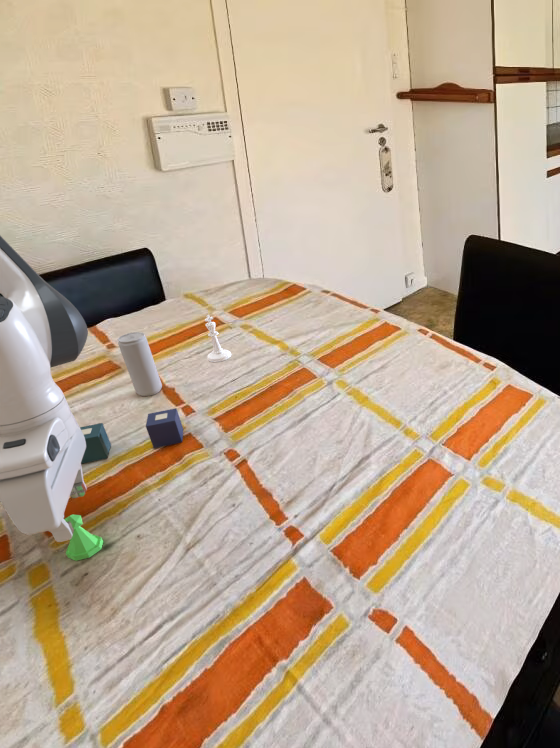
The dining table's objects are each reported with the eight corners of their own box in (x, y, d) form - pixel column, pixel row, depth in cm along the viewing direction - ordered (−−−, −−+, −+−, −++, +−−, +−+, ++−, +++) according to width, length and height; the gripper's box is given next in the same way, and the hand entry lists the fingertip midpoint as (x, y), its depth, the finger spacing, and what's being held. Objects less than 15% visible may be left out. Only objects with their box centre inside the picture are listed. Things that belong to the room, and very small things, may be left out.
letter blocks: (43, 472, 102) (32, 448, 99) (49, 457, 105) (38, 434, 103) (182, 442, 108) (174, 419, 106) (183, 429, 112) (176, 407, 110)
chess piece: (236, 355, 139) (225, 313, 134) (217, 363, 135) (205, 321, 130) (222, 350, 141) (210, 309, 136) (202, 359, 137) (190, 317, 133)
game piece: (110, 538, 87) (95, 505, 84) (91, 560, 83) (74, 526, 81) (80, 538, 87) (64, 504, 84) (60, 560, 84) (42, 526, 81)
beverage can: (159, 383, 128) (141, 329, 122) (166, 391, 125) (147, 337, 119) (134, 390, 125) (114, 336, 120) (139, 399, 122) (119, 344, 116)
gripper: (22, 395, 84) (61, 477, 90) (-27, 479, 67) (26, 573, 73) (76, 384, 86) (111, 466, 92) (42, 464, 69) (87, 557, 76)
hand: (73, 514), depth 83 cm, fingers open, 8 cm apart
